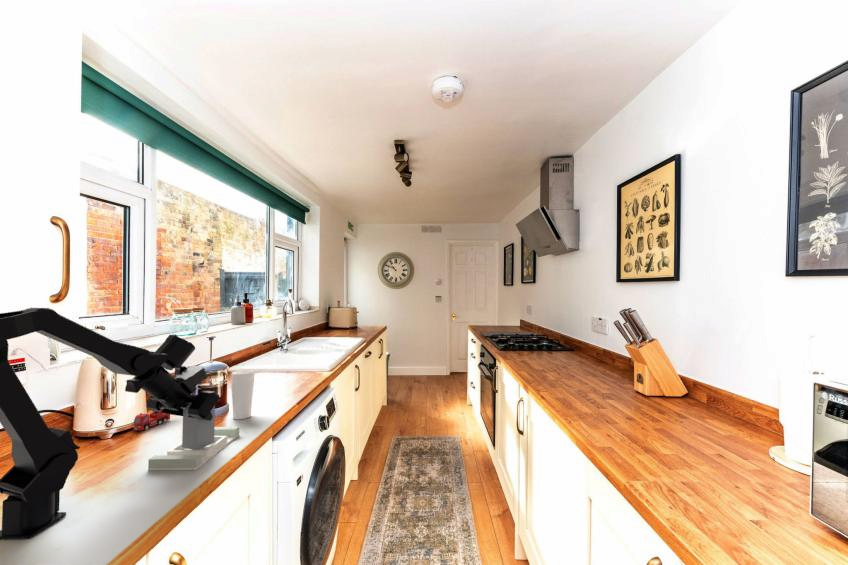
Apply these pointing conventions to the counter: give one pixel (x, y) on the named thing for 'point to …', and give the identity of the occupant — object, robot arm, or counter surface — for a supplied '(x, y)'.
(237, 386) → the drinking glass
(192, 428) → the tall grey pillar block
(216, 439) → the tray
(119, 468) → the counter surface
